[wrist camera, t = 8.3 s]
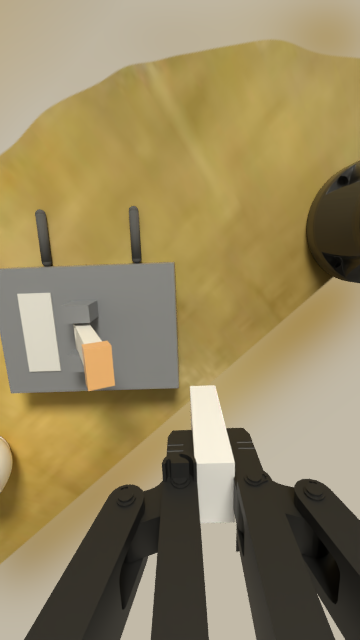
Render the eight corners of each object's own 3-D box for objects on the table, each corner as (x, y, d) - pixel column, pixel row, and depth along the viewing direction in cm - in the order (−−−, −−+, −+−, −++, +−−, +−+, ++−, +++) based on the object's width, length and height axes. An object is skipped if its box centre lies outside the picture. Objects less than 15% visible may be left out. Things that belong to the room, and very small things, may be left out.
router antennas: (138, 206, 37) (137, 205, 36) (142, 263, 39) (140, 263, 38) (37, 210, 38) (32, 208, 36) (45, 266, 39) (40, 266, 38)
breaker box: (174, 262, 39) (173, 264, 31) (178, 372, 43) (178, 401, 34) (12, 267, 39) (-33, 271, 31) (30, 377, 43) (-6, 406, 34)
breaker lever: (89, 318, 35) (111, 345, 24) (92, 346, 36) (115, 385, 25) (70, 320, 34) (83, 349, 23) (74, 349, 35) (88, 391, 24)
